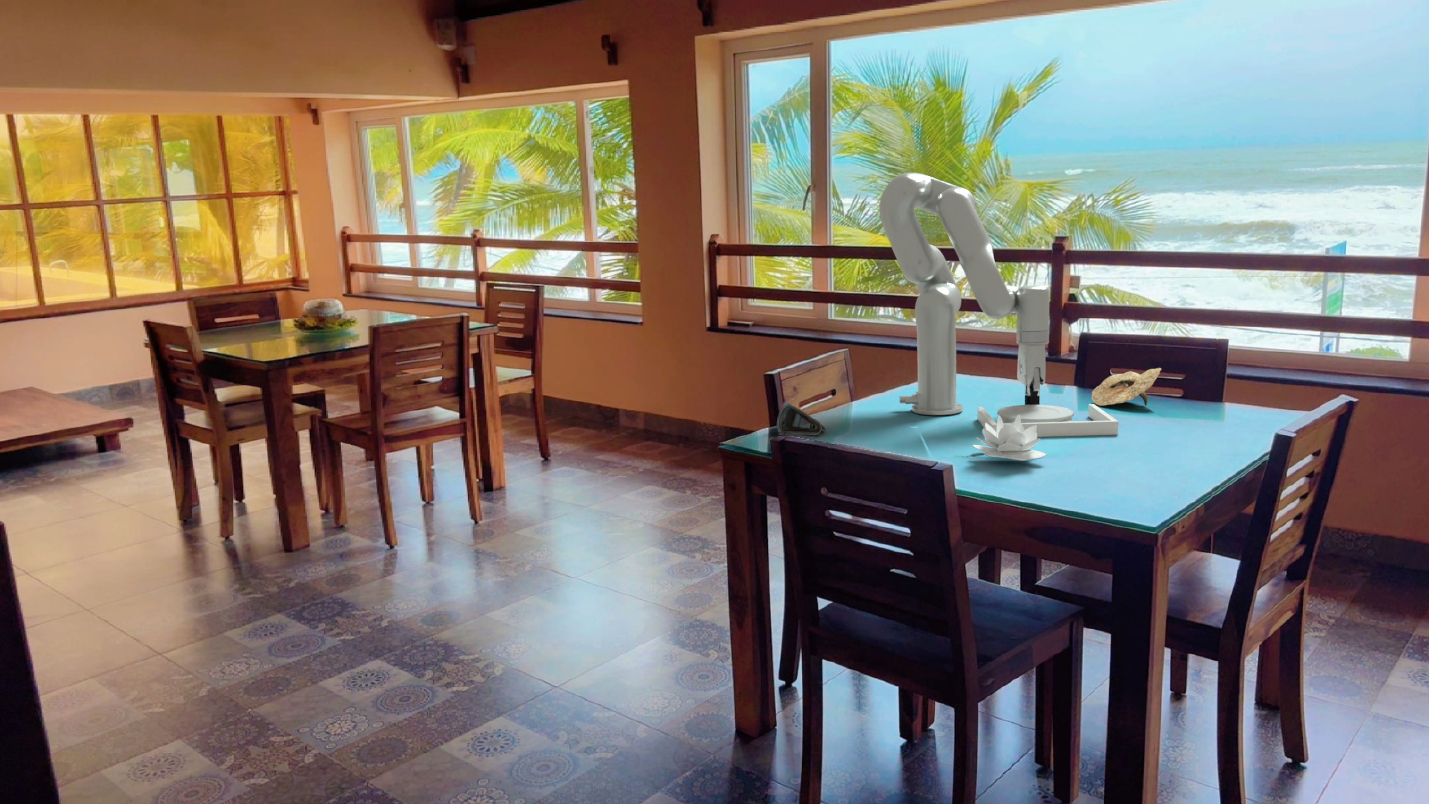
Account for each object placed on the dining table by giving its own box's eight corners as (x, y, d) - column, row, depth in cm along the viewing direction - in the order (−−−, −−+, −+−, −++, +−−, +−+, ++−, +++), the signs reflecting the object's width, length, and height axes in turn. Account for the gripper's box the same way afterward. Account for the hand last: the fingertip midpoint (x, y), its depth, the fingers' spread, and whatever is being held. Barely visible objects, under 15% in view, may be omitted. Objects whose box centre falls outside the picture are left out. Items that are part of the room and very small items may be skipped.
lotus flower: (1033, 468, 211) (1033, 425, 210) (961, 460, 220) (961, 419, 218) (1054, 452, 223) (1055, 411, 221) (985, 445, 231) (985, 406, 230)
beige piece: (1089, 427, 269) (1076, 401, 268) (1112, 403, 278) (1100, 377, 277) (1154, 413, 255) (1141, 385, 254) (1177, 388, 264) (1164, 361, 263)
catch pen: (992, 437, 237) (992, 424, 237) (977, 419, 257) (977, 407, 256) (1118, 434, 235) (1118, 421, 234) (1093, 416, 255) (1093, 403, 254)
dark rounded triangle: (837, 430, 250) (808, 393, 255) (824, 428, 244) (794, 390, 249) (810, 457, 253) (782, 420, 259) (796, 455, 247) (767, 418, 253)
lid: (1030, 437, 237) (1031, 424, 236) (983, 421, 255) (983, 409, 255) (1096, 429, 241) (1097, 416, 241) (1045, 413, 260) (1045, 402, 260)
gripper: (1010, 333, 264) (1010, 406, 267) (1023, 341, 249) (1023, 418, 253) (1041, 332, 263) (1040, 405, 267) (1056, 340, 249) (1055, 417, 252)
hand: (1032, 411), depth 260 cm, fingers closed
